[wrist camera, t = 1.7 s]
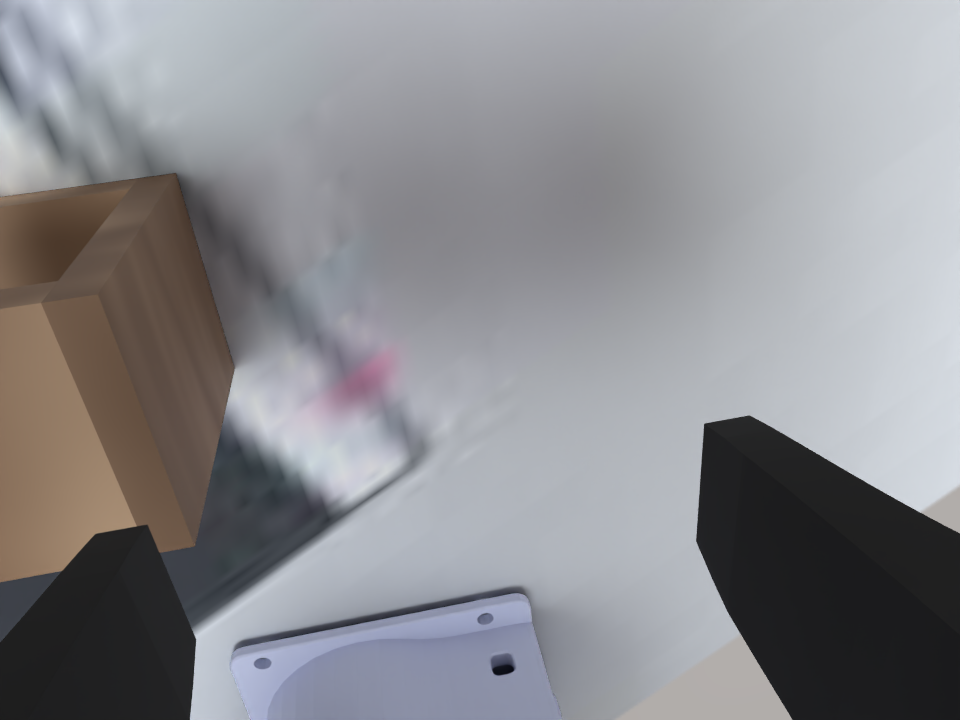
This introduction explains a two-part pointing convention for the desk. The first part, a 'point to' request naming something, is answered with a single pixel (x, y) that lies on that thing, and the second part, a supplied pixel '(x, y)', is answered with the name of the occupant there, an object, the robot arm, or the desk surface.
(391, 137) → the desk surface
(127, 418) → the open wooden box
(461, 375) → the desk surface
